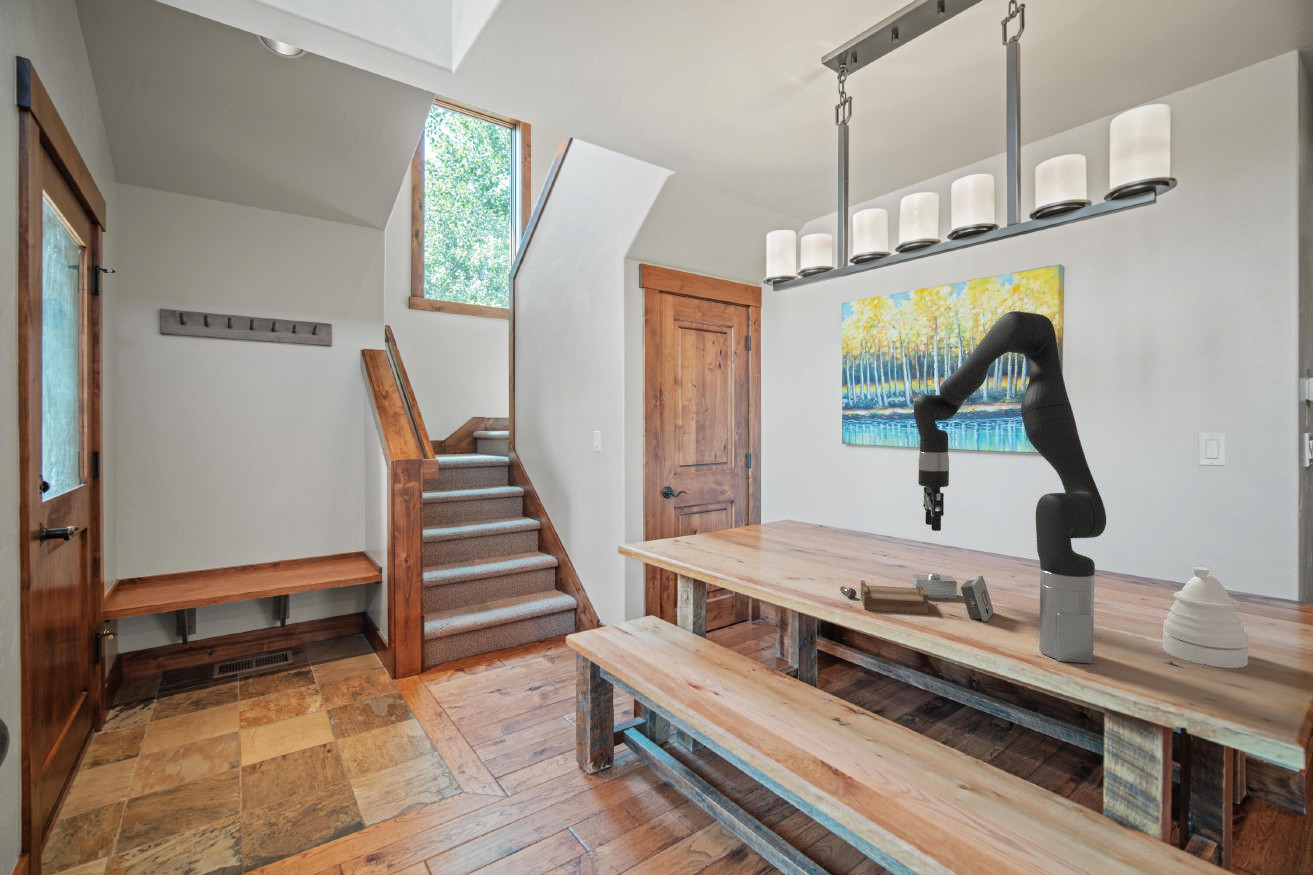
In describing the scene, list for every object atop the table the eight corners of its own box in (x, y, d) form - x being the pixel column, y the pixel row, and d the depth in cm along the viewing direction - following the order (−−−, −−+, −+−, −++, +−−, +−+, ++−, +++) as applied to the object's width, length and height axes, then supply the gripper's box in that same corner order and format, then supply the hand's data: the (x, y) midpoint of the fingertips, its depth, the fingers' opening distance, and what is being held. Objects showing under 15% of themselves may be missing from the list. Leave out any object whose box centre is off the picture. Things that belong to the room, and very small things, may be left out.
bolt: (856, 598, 163) (856, 588, 163) (847, 598, 163) (847, 588, 163) (847, 591, 169) (847, 582, 169) (838, 591, 169) (838, 582, 169)
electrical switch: (986, 623, 143) (982, 584, 143) (962, 620, 146) (959, 582, 146) (994, 613, 150) (990, 575, 150) (971, 611, 153) (967, 574, 153)
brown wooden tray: (928, 613, 150) (928, 595, 149) (864, 609, 153) (864, 592, 153) (919, 599, 161) (919, 582, 161) (860, 595, 165) (860, 579, 165)
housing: (956, 599, 161) (956, 578, 161) (916, 597, 163) (917, 576, 163) (950, 593, 167) (950, 572, 166) (912, 592, 169) (912, 571, 168)
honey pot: (1226, 672, 114) (1229, 578, 114) (1149, 648, 126) (1150, 563, 126) (1261, 660, 120) (1263, 571, 119) (1183, 639, 131) (1185, 557, 131)
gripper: (954, 471, 156) (954, 533, 156) (943, 466, 169) (942, 523, 170) (923, 470, 158) (922, 532, 158) (914, 465, 171) (913, 522, 172)
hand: (932, 527), depth 164 cm, fingers open, 8 cm apart
